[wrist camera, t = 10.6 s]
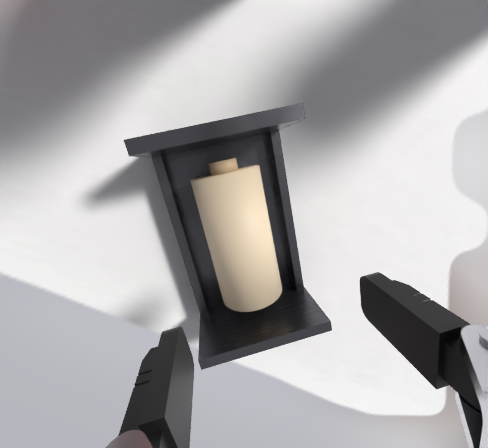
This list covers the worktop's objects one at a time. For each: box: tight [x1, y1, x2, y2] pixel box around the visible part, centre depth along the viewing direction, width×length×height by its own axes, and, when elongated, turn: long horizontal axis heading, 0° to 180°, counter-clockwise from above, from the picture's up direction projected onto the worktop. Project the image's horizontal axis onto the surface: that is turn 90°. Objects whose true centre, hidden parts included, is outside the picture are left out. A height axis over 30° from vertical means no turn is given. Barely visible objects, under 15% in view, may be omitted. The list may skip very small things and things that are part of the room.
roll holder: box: [124, 103, 332, 369], centre depth 22 cm, size 19×12×8 cm, turn 12°
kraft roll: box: [190, 158, 282, 312], centre depth 22 cm, size 14×6×6 cm, turn 12°
